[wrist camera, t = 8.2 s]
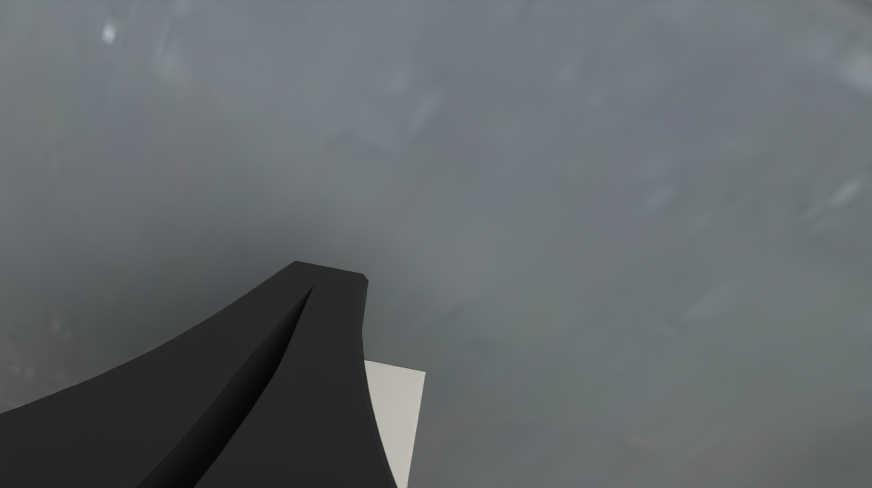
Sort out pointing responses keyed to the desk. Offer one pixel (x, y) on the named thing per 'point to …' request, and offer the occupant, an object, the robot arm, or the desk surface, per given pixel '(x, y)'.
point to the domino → (396, 412)
